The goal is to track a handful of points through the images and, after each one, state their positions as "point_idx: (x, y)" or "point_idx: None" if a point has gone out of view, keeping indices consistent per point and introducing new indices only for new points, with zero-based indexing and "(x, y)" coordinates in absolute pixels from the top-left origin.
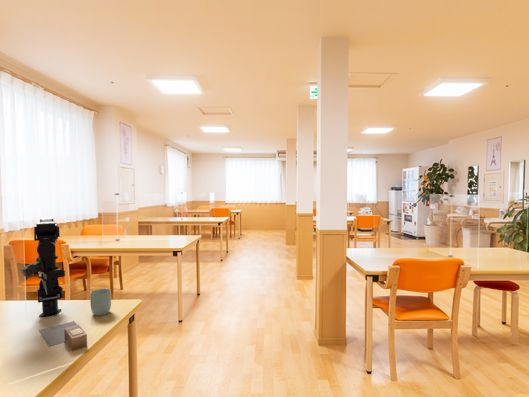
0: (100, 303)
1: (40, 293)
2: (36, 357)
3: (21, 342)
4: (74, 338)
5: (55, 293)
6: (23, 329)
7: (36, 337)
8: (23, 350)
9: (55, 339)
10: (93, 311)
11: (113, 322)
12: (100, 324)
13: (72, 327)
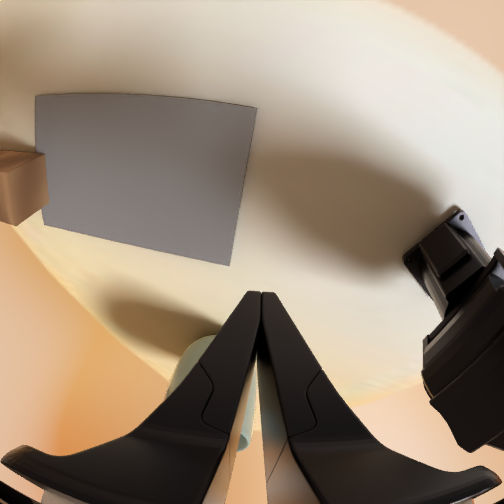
0: (170, 381)
1: (500, 293)
2: (9, 54)
3: (176, 12)
4: None
5: (432, 351)
6: (367, 76)
7: (178, 75)
8: (84, 14)
9: (75, 130)
10: (207, 344)
11: (110, 324)
12: (119, 298)
13: (2, 198)
